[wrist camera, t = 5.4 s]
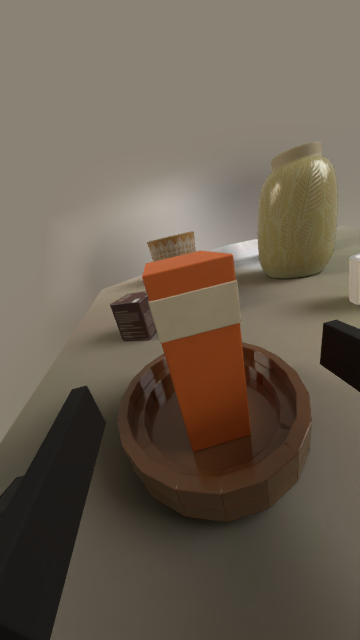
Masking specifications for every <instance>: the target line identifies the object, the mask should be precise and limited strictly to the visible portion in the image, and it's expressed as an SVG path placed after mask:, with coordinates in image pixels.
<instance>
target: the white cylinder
mask: <svg viewBox="0 0 360 640" xmlns="http://www.w3.org/2000/svg"><path fill="white" fill-rule="evenodd" d="M349 301H350V302H351V303H354V304H356V305H360V254H356V255H353V256H351V257H350V258H349Z"/></svg>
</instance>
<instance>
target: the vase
mask: <svg viewBox="0 0 360 640" xmlns="http://www.w3.org/2000/svg"><path fill="white" fill-rule="evenodd" d="M321 147H322V143H321V142H318V141H317V142H310V143H307V144H303V145H300V146H297V147H294V148H292V149H290V150H288V151H285V152H283V153H281V154H279V155H278V156H276V157H275V158H273V159H272V161H271V166H272V172H271V173H270V175H269V176H268V177H267V179H266V181H265V182H264V185H263V187H262V190H261V193H260V199H259V208H258V251H259V260H260V264H261V266H262V268H263V270H264V272H265V273H266V275H267V276H269V277H272V278H282V279H285V278H299V277H305V276H310V275H314V274H317V273H319V272H321V271H322V270H323V269H324V268H325V266H326V265H327V264H328V262H329V260H330V259H331V257H332V254H333V251H334V245H335V237H336V227H337V205H338V203H337V202H338V195H337V180H336V173H335V169H334V167H333V165H332V163H331V162H330V161H329V160H328V159H327V158H326V157H324V156H322V155H321Z"/></svg>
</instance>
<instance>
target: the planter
mask: <svg viewBox="0 0 360 640" xmlns="http://www.w3.org/2000/svg"><path fill="white" fill-rule="evenodd" d="M147 244H148V247H149V249H150V253H151V256H152V259H153V262H155V261H159V260H163V259H167V258H172V257H176V256H180V255H184V254H188V253H193V252H196V250H195V240H194V232H187V233H183V234H178V235H174V236H169V237H165V238H161V239H157V240H153V241H149V242H147Z"/></svg>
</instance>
